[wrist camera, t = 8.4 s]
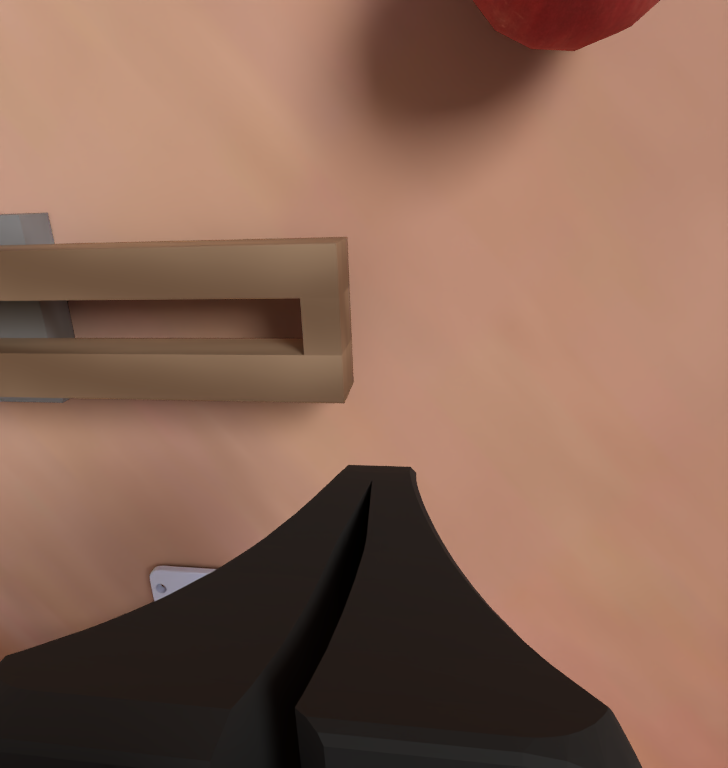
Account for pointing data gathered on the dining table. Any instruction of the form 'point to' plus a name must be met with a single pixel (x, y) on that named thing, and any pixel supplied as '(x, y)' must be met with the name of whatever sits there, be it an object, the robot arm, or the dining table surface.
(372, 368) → the dining table surface
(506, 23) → the onion
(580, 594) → the dining table surface
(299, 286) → the beam
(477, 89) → the dining table surface
